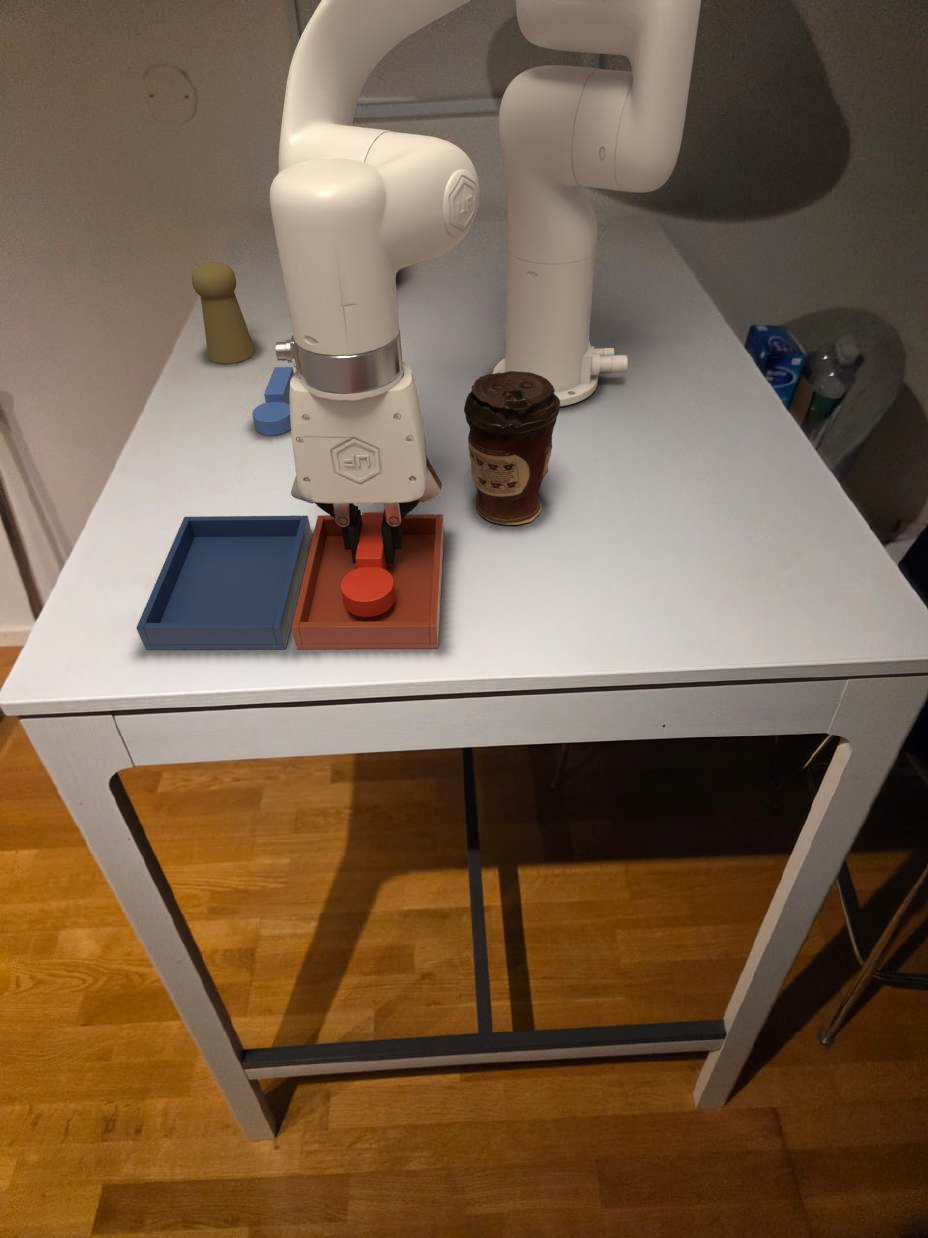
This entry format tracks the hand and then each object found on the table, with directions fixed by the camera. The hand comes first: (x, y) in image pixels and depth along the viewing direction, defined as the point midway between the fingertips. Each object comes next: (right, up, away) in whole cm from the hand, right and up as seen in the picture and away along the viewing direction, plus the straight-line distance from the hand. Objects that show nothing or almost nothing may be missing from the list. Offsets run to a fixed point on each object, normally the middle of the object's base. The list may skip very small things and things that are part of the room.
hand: (374, 551), depth 70 cm
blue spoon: (-13, +18, +22) cm, 31 cm away
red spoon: (0, -2, -1) cm, 3 cm away
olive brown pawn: (-22, +28, +33) cm, 49 cm away
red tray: (0, -3, 0) cm, 3 cm away
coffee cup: (+12, +5, +8) cm, 15 cm away
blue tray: (-12, -3, 0) cm, 13 cm away
